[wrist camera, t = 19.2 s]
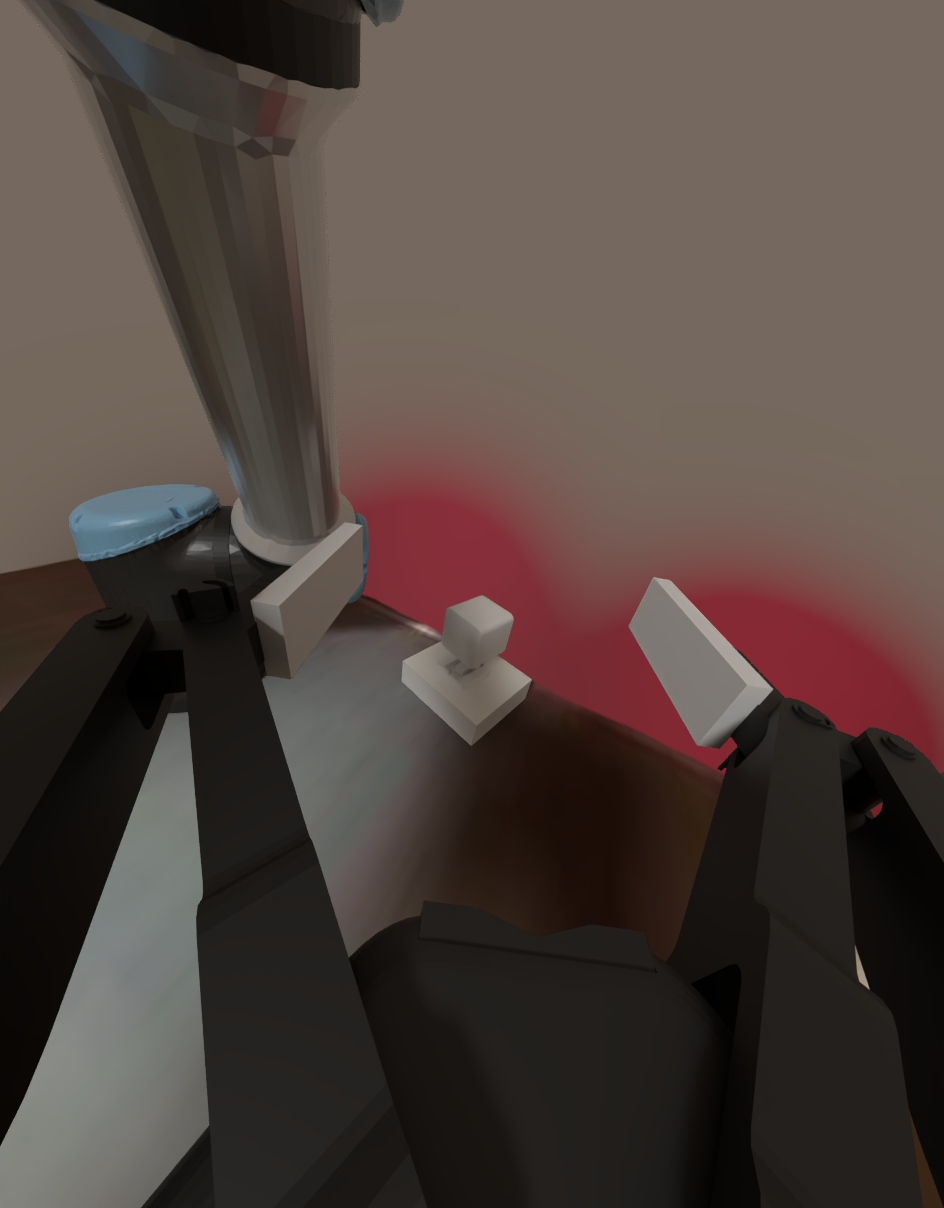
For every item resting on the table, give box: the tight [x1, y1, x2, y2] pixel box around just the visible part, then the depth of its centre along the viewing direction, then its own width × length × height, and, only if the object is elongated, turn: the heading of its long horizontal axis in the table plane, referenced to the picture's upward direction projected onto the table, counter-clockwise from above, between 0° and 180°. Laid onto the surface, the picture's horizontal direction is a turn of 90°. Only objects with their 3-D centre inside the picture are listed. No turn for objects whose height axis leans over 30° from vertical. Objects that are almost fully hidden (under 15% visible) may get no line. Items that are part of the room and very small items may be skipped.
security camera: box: [436, 595, 514, 692], centre depth 45 cm, size 6×7×10 cm
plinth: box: [402, 641, 532, 746], centre depth 49 cm, size 14×12×4 cm
